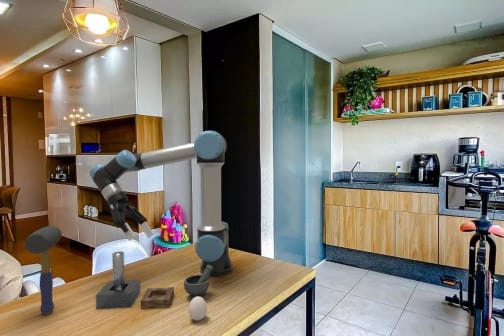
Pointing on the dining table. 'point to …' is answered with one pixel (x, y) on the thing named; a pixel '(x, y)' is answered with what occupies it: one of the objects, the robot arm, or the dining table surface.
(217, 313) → the dining table surface
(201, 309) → the egg
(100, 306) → the socket
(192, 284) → the mortar and pestle
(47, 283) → the rubber mallet
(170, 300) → the wooden square tray
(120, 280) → the brushed metal peg
